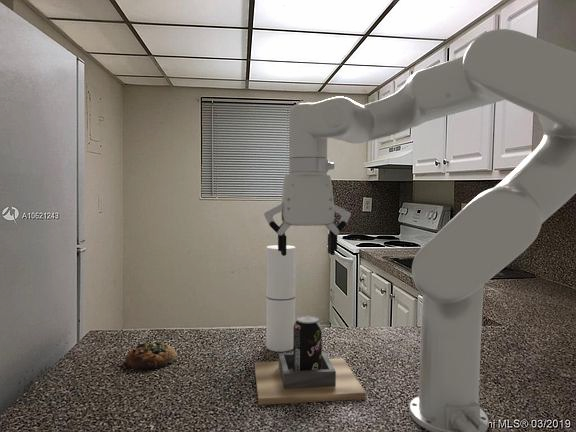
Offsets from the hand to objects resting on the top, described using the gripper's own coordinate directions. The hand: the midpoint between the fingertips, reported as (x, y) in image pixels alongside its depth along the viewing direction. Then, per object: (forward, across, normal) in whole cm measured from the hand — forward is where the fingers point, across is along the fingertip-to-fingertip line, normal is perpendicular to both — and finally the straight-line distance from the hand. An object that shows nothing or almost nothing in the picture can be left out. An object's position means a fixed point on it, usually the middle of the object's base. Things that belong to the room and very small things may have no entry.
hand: (307, 254), depth 82 cm
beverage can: (+25, 0, 0) cm, 25 cm away
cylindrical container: (+26, +3, -20) cm, 33 cm away
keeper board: (+26, 0, 0) cm, 26 cm away
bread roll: (+26, +33, -15) cm, 45 cm away
